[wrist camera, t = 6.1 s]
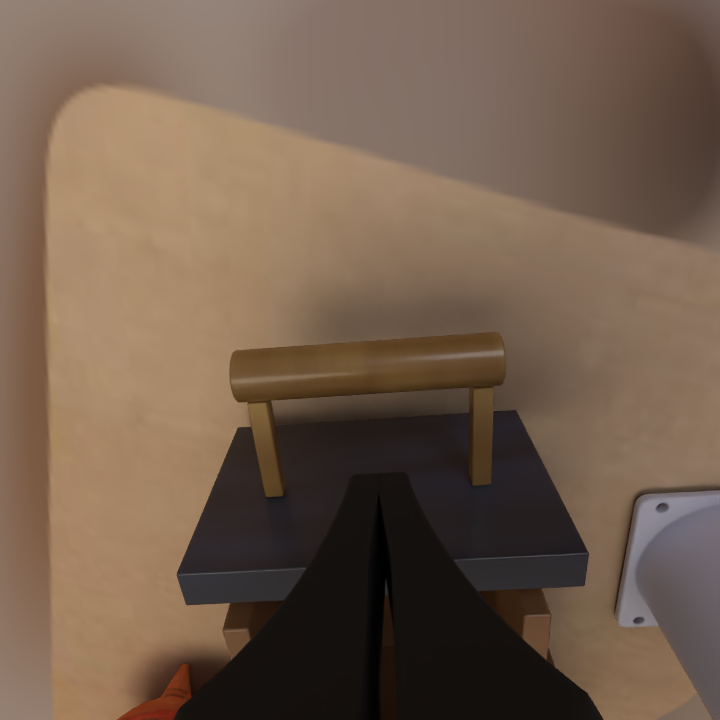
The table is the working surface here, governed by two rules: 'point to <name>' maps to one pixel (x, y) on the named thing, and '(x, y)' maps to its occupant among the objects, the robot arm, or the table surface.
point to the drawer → (381, 455)
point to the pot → (164, 700)
